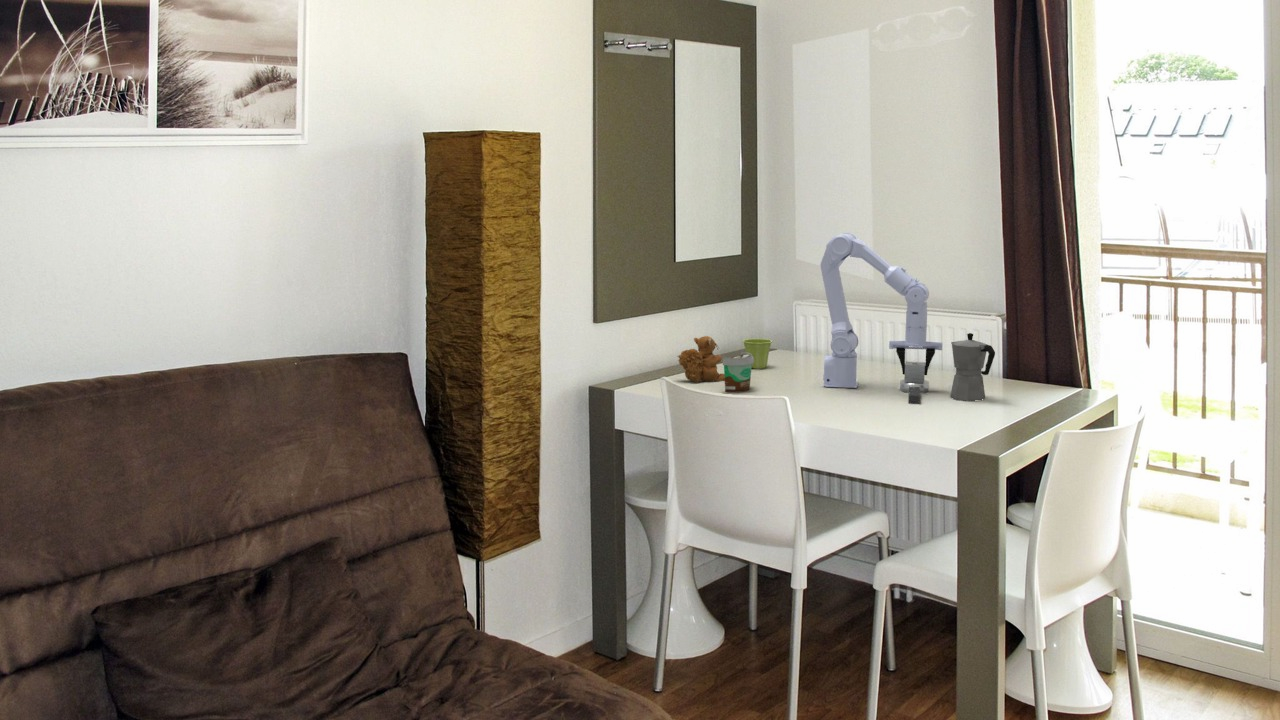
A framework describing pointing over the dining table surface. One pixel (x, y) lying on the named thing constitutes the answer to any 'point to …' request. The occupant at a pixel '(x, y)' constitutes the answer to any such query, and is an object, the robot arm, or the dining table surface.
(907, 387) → the ratchet
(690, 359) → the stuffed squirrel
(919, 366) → the grey cube
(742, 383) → the food container
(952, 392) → the coffeepot
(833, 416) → the dining table surface
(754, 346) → the plant pot
